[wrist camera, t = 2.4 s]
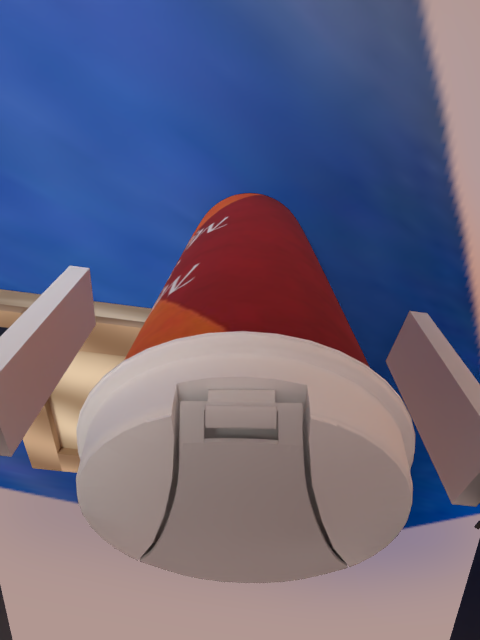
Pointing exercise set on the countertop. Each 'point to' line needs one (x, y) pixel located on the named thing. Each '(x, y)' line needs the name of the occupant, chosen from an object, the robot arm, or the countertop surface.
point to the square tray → (74, 377)
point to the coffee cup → (246, 417)
